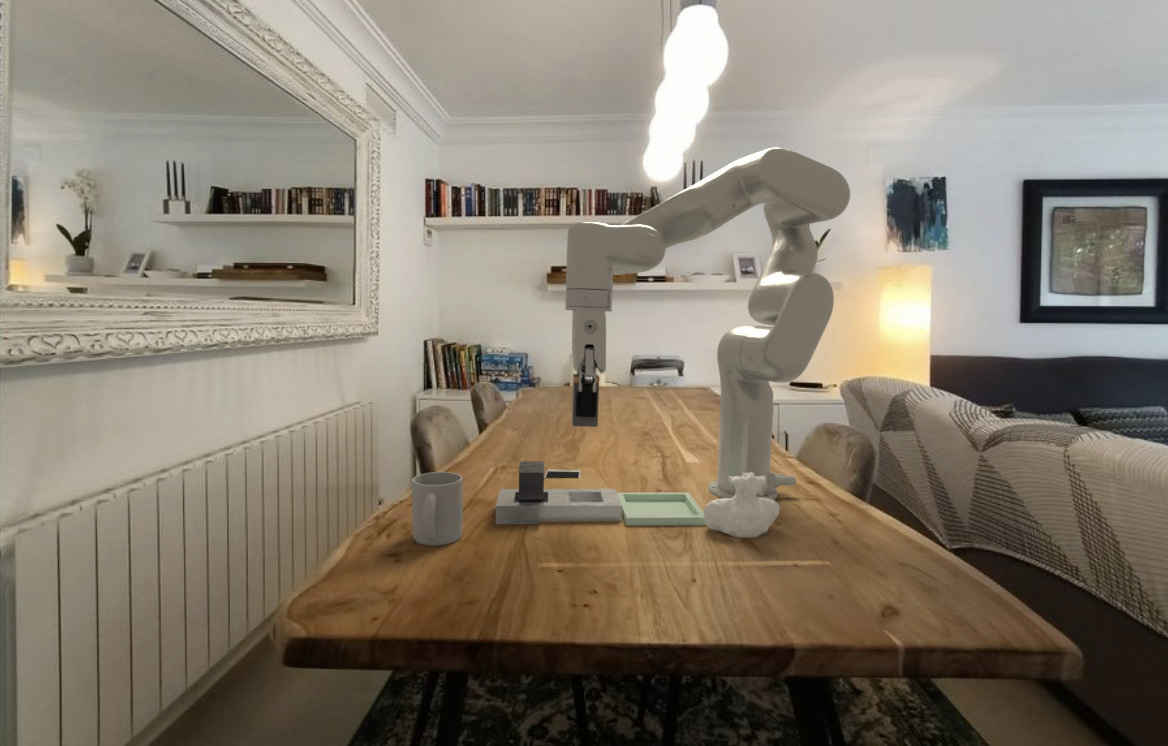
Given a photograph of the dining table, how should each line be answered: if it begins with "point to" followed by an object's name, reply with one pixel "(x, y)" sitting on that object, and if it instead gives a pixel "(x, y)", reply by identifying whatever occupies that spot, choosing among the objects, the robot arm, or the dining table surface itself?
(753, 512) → the white tied sack
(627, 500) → the tray
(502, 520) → the pdu strip
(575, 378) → the rectangular block
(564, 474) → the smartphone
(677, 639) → the dining table surface
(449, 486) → the cup
